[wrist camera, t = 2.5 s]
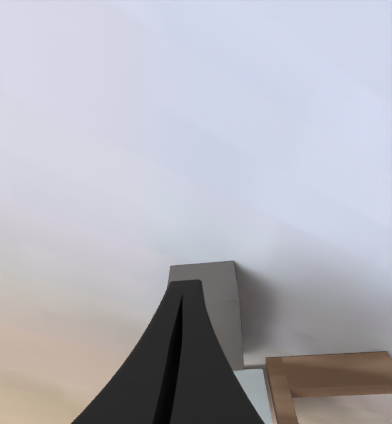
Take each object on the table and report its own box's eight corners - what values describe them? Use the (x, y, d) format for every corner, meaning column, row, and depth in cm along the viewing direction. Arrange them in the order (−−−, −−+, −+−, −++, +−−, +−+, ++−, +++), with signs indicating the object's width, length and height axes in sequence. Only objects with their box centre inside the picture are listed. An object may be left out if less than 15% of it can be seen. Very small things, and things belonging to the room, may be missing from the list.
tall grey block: (239, 341, 27) (245, 384, 23) (188, 344, 27) (185, 387, 23) (233, 260, 22) (239, 299, 18) (170, 265, 22) (164, 305, 19)
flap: (262, 372, 27) (279, 462, 21) (173, 376, 28) (165, 465, 22) (262, 368, 27) (279, 459, 21) (172, 373, 28) (163, 462, 22)
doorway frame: (383, 360, 27) (470, 508, 18) (156, 372, 29) (135, 511, 20) (386, 351, 27) (478, 500, 18) (153, 363, 29) (130, 504, 20)
